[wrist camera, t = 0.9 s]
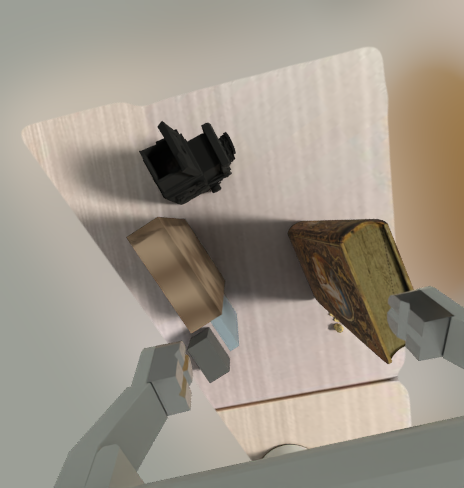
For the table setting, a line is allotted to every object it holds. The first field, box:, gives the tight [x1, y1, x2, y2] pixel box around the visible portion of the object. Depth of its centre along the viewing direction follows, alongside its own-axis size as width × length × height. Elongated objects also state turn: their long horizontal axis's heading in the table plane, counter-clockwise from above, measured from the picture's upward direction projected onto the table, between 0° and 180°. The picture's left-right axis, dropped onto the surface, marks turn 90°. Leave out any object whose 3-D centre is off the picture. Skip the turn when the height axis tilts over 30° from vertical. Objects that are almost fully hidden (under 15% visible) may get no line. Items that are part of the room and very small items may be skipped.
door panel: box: [211, 295, 239, 351], centre depth 46 cm, size 12×2×14 cm, turn 33°
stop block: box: [187, 328, 230, 383], centre depth 52 cm, size 8×4×5 cm, turn 33°
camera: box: [139, 121, 236, 205], centre depth 41 cm, size 10×14×20 cm
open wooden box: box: [126, 217, 225, 333], centre depth 43 cm, size 15×5×20 cm, turn 33°
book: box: [288, 219, 414, 364], centre depth 40 cm, size 16×6×25 cm, turn 24°
